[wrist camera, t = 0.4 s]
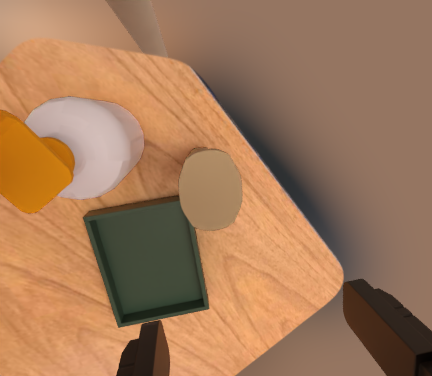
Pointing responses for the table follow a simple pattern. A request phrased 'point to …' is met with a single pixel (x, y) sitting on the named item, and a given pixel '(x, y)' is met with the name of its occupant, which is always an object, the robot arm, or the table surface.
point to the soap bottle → (66, 151)
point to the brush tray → (148, 260)
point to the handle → (210, 189)
